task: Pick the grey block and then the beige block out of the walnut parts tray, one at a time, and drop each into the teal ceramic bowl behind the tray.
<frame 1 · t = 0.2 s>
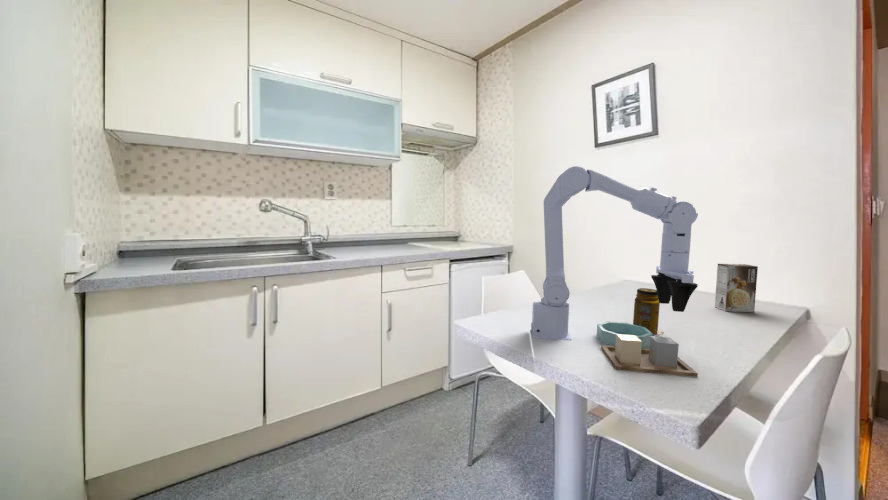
hand: (670, 307, 84), 10 cm above the table, tool pointing down, fingers open, 7 cm apart
beige block: (627, 359, 75), resting on tray
tray: (644, 363, 75), on the table
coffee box: (733, 310, 121), on the table
condiment: (642, 332, 96), on the table
bowl: (623, 342, 88), on the table
grey block: (662, 362, 74), resting on tray
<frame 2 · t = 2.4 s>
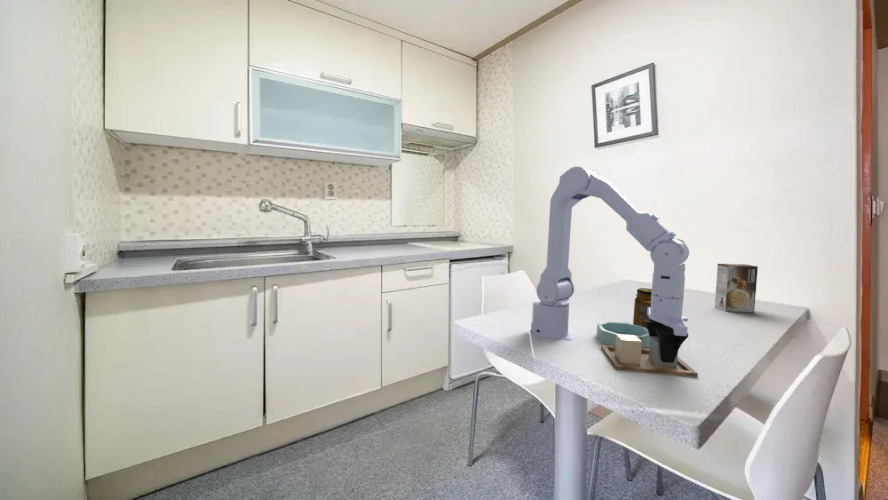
hand: (662, 357, 74), 2 cm above the table, tool pointing down, fingers closed on grey block, 4 cm apart
grey block: (662, 362, 74), resting on tray, touching gripper
everything else where it was.
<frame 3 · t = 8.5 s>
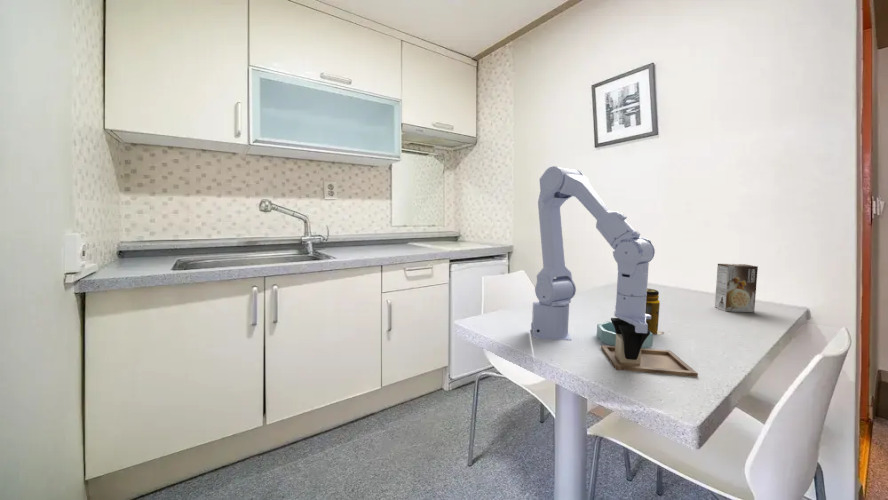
hand: (627, 354, 75), 2 cm above the table, tool pointing down, fingers closed on beige block, 4 cm apart
beige block: (627, 359, 75), resting on tray, touching gripper
grey block: (633, 341, 87), point 1 cm above the table, touching bowl
everything else where it was.
when the fingers open (4 cm above the table, at t = 11.2 s): beige block drops 3 cm, resting on bowl.
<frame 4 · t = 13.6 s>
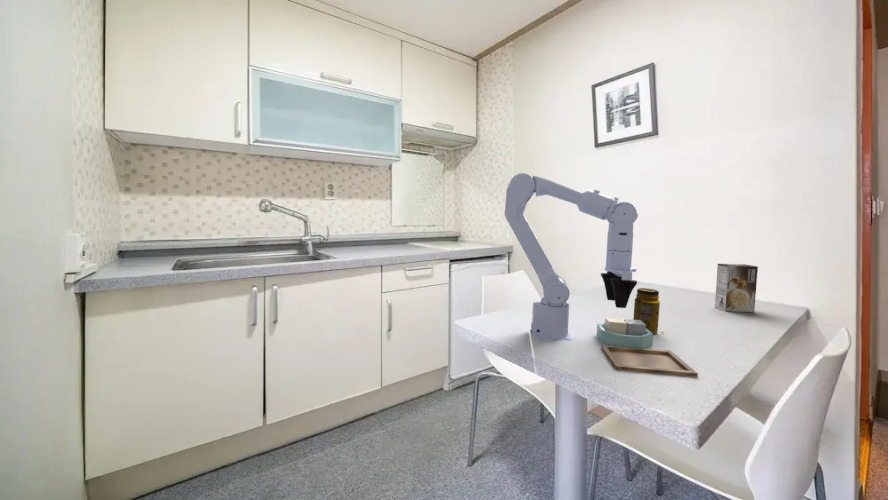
hand: (616, 303, 87), 10 cm above the table, tool pointing down, fingers open, 7 cm apart
beige block: (614, 339, 88), point 1 cm above the table, touching bowl
everything else where it was.
at the end: grey block inside the target area on the bowl (2.2 cm from its centre), point 0.6 cm above the bowl's base; beige block inside the target area on the bowl (2.1 cm from its centre), point 0.6 cm above the bowl's base; the gripper is holding nothing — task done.
